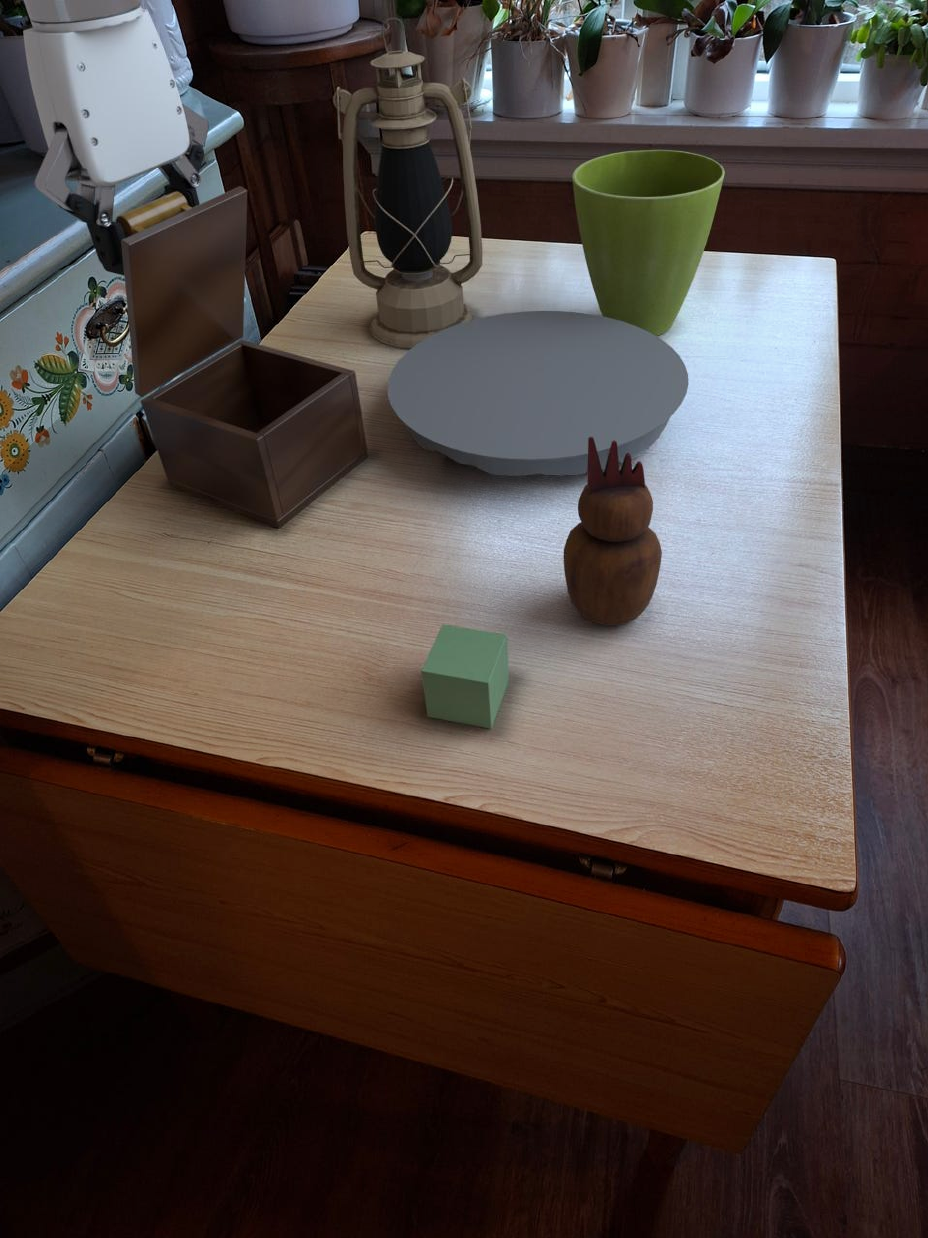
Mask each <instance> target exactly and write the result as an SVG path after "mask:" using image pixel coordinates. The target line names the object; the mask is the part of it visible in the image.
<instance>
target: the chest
mask: <svg viewBox="0 0 928 1238" xmlns="http://www.w3.org/2000/svg"><path fill="white" fill-rule="evenodd" d="M140 404H141V407H142V409H143V412H144V416H145V418H146V421H147V425H148V427H149V430H150V433H151V436H152V439H153V442H154V445H155V448H156V451H157V453H158V456H159V460H160V462H161V465H162V469H163V470H164V475H165V477H166V480H167V483H168V486H169V487H172V488H175V489H177V490H180V491H182V492H185V493H188V494H190V495H192V496H195V497H197V498H200V499H202V500H205V501H207V502H210V503H213V504H215V505H218V506H220V507H224V508H226V509H229V510H231V511H234V512H236V513H239V514H241V515H244V516H247V517H248V518H251V519H254V520H256V521H259V522H260V523H261V522H262V523H264V524H266V525H269V526H272V527H275V528H276V529H281V528H283V526H284V525H286V524H287V523H288V522H290V520H292V519H293V518H294V517H295V516H297V515H298V514H300V512H302V511H303V510H304V509H305V508H307V507H308V506H309V505H310V504H311V503H313V502H314V501H315V500H316V499H318V498H319V497H320V496H321V495H323V494H324V493H325V492H326V491H327V490H329V489H330V488H331V487H333V486H334V485H335V484H336V483H337V482H339V481H340V480H341V479H343V478H344V477H345V476H347V474H348V473H350V472H351V471H353V470H354V469H355V468H356V467H357V466H359V465H360V464H361V463H362V462H364V461H365V460H366V459H368V457H369V453H368V445H367V438H366V433H365V427H364V419H363V413H362V407H361V401H360V394H359V387H358V382H357V375H356V371H355V370H353V369H349V368H346V367H342V366H338V365H336V364H332V363H327V362H324V361H320V360H317V359H314V358H309V357H306V356H302V355H298V354H295V353H291V352H288V351H284V350H281V349H276V348H273V347H270V346H266V345H262V344H259V343H255V342H251V341H247V340H244V339H239V340H238V341H236V342H235V343H233V344H231V345H229V346H228V347H226V348H224V350H221V351H219V352H218V353H216V355H215V354H214V355H213V356H211V357H209V359H206V360H204V361H203V362H201V364H200V363H199V364H198V365H196V366H194V368H191V369H189V371H186V373H184V374H181V376H178V377H176V378H175V379H173V380H171V381H170V382H168V383H166V384H165V385H163V386H161V388H158V389H156V390H155V391H154V392H151V393H150V394H149V395H147V396H146V397H143V398H142V399H140Z"/></svg>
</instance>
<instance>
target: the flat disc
mask: <svg viewBox="0 0 928 1238" xmlns="http://www.w3.org/2000/svg"><path fill="white" fill-rule="evenodd" d="M386 389H387V397H388V400H389V404H390V407H392V409H393V411H394V413H395V414H396V415H397V417H398V418H399V419H400V420H401V421H402V422H403V423H404V425H405V427H406V430H407V431H408V432H409V434H410V435H411V436H412V438H413V439H414V440H415V442H416V443H417V444H418V446H420V447H421V448H422V449H425V450H427V451H429V452H436V451H437V452H439V453H440V454H443V455H445V456H446V457H447V458H449V459H451V460H452V461H455V463H457V464H460V465H468V466H472V467H476V468H477V469H479V470H481V471H483V472H486V473H488V474H490V475H494V476H495V475H496V476H497V475H498V476H510V477H513V476H518V477H523V476H531V475H536V474H539V475H541V474H542V475H544V476H578V475H582V474H587V470H588V438H589V437H593V438H594V442H595V445H596V449H597V453H598V456H599V460H600V464H601V468H602V470H604V469H605V467H606V463H607V459H608V455H609V451H610V447H611V444H612V441H616V442H617V449H618V460H619V463H623V461H624V458H625V455H626V453H630V455H631V459H635V458H638V457H639V456H640V455H641V454H642V453H643V452H645V451H646V450H648V449H650V448H651V446H653V445H654V444H655V442H657V441H658V440H659V439H660V437H661V435H662V433H663V432H664V430H666V427H667V425H668V423H669V421H670V419H671V417H672V416H673V415H674V414H675V413H676V411H677V410H678V409H679V408H680V407H681V406H682V404H683V402H684V400H685V398H686V396H687V393H688V389H689V373H688V371H687V366H686V364H685V363H684V361H683V360H682V358H681V356H680V355H679V354H678V352H676V350H675V349H674V348H673V347H672V346H670V344H668V343H667V342H666V341H665V340H663V339H662V338H660V337H658V336H655V335H653V334H652V333H650V332H648V331H646V330H643V329H641V328H639V327H637V326H634V325H631V324H628V323H626V322H623V321H619V320H615V319H611V318H608V317H603V316H602V315H599V314H592V313H585V312H584V313H583V312H577V311H565V310H564V311H563V310H562V311H561V310H529V311H528V310H527V311H515V312H506V313H500V314H494V315H489V316H484V317H479V318H474V320H471V321H468V322H464V323H461V324H458V325H455V326H452V327H450V328H447V329H445V330H442V331H440V332H438V333H436V334H434V335H432V336H430V337H428V338H426V339H425V340H423V341H421V342H420V343H418V344H417V345H415V346H414V347H413V348H411V349H409V350H408V351H406V352H405V353H404V354H403V356H402V357H400V359H398V360H397V362H396V364H395V365H394V367H393V368H392V370H391V372H390V374H389V377H388V382H387V387H386Z"/></svg>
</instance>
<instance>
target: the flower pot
mask: <svg viewBox="0 0 928 1238" xmlns="http://www.w3.org/2000/svg"><path fill="white" fill-rule="evenodd" d="M725 174H726V173H725V168H724V166H723V165H721V164H720V163H719V162H718V161H716V160H715V159H712V158H710V157H708V156H705V155H701V154H698V153H693V152H689V151H683V150H674V149H673V150H672V149H671V150H670V149H645V150H629V151H621V152H615V153H609V154H605V155H602V156H598V157H595V158H592V159H590V160H587V161H585V162H583V163H581V164H580V165H579V166H577V167H576V168H575V169H574V171H573V172H572V176H571V177H572V178H571V179H572V189H573V196H574V203H575V205H574V206H575V211H576V212H575V213H576V218H577V225H578V231H579V235H580V240H581V246H582V249H583V256H584V259H585V264H586V267H587V271H588V275H589V278H590V282H591V285H592V290H593V293H594V296H595V298H596V302H597V305H598V308H599V311H600V314H601V316H603V317H608V318H611V319H615V320H619V321H623V322H626V323H628V324H631V325H634V326H637V327H639V328H641V329H643V330H646V331H648V332H650V333H652V334H653V335H655V336H657V337H658V336H661V335H663V334H665V333H667V332H668V331H669V330H670V329H671V328H672V326H673V324H674V323H675V321H676V319H677V317H678V314H679V312H680V311H681V309H682V306H683V305H684V302H685V300H686V297H687V295H688V293H689V291H690V289H691V286H692V284H693V281H694V279H695V276H696V274H697V272H698V268H699V266H700V263H701V259H702V257H703V254H704V251H705V248H706V245H707V242H708V238H709V237H710V233H711V229H712V225H713V221H714V218H715V214H716V211H717V206H718V204H719V203H718V202H719V199H720V194H721V191H722V187H723V183H724V178H725Z"/></svg>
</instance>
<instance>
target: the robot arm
mask: <svg viewBox="0 0 928 1238" xmlns="http://www.w3.org/2000/svg"><path fill="white" fill-rule="evenodd" d="M23 3H24V5H25V8H26V11H27V14H28V17H29V19H30V23H31V26H32V27H30V28H27V29H23V32H22V33H23V42H24V51H25V57H26V64H27V71H28V75H29V81H30V86H31V89H32V93H33V97H34V102H35V106H36V109H37V113H38V116H39V122H40V125H41V128H42V132H43V135H44V138H45V139H44V140H45V141H46V145H47V148H48V150H47V151H46V154H45V157H44V158H43V161H42V163H41V165H40V168H39V169H38V172H37V174H36V176H35V178H34V186H35V189H37V190H38V191H39V192H41V193H42V194H43V195H44V196H46V197H47V198H48V199H50V200H51V201H52V202H54V203H56V204H57V205H58V207H59V208H60V209H62V210H63V211H65V212H67V213H69V214H70V215H71V216H73V217H75V218H76V219H77V220H78V221H79V222H80V223H84V224H86V227H87V230H88V233H89V235H90V238H91V241H92V245H93V248H94V250H95V253H96V256H97V258H98V261H99V262H100V264H101V265H102V267H103V269H104V270H105V271H106V272H109V273H113V274H116V275H120V276H124V266H123V255H122V244H121V240H123V239H125V238H126V237H125V234H124V231H123V228H122V226H121V224H120V223H117V222H116V221H113V218H114V206H115V204H114V203H115V195H116V185H119V184H122V183H124V182H127V181H130V180H131V179H135V178H137V177H140V176H141V175H145V174H146V173H149V172H151V171H154V170H156V169H158V170H159V171H160V172H161V174H162V175H163V176H164V178H165V179H166V180H167V181H168V184H166V185H163V188H164V196H166V195H168V194H170V193H173V192H175V191H177V192H180V193H181V194H182V195H183V196H184V197H185V199H186V200H187V203H188V206H190V207H192V208H193V207H195V206H197V205H200V204H201V203H200V200H199V195H198V192H197V188H198V187H199V186H200V185H201V181H202V177H201V175H200V170H201V167H202V164H203V161H204V158H205V150H204V148H205V147H206V142H207V138H208V134H209V130H210V125H209V121H208V120H207V119H206V118H205V117H203V116H202V115H200V114H199V113H198V112H196V111H194V110H193V109H191V108H190V107H188V106H187V105H185V104H183V102H182V98H181V96H180V92H179V88H178V85H177V83H176V79H175V75H174V73H173V70H172V67H171V64H170V61H169V59H168V55H167V53H166V51H165V47H164V45H163V42H162V40H161V38H160V35H159V33H158V30H157V28H156V25H155V23H154V20H153V19H152V17H151V15H150V12H149V10H148V9H146V8H143V7H142V4H141V0H23ZM66 181H70V182H75V181H76V182H77V184H76V192H74V190H72V188H71V187H69V185H68V184H67V182H66Z"/></svg>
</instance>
